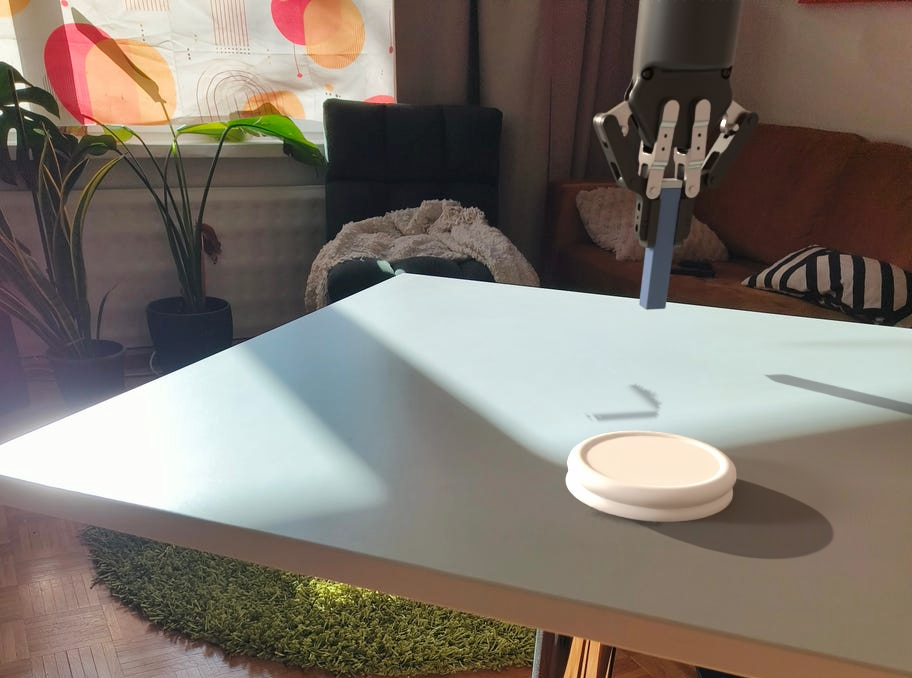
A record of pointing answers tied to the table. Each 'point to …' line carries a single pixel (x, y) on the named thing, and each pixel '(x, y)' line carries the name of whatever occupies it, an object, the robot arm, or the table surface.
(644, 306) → the blue square bar
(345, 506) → the table surface
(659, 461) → the coaster
